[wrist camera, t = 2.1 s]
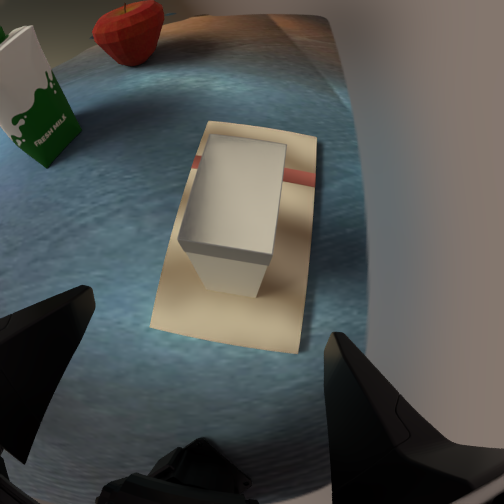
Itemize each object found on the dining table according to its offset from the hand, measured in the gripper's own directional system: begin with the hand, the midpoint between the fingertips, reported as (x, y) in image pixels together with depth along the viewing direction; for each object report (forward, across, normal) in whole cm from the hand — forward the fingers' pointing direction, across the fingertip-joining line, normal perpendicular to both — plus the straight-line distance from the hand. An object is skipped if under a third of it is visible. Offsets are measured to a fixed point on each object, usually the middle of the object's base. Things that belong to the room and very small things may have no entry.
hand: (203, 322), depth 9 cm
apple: (+36, +22, -17) cm, 45 cm away
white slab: (+13, 0, +4) cm, 14 cm away
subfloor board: (+17, 0, +2) cm, 17 cm away
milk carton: (+23, +28, -4) cm, 36 cm away
